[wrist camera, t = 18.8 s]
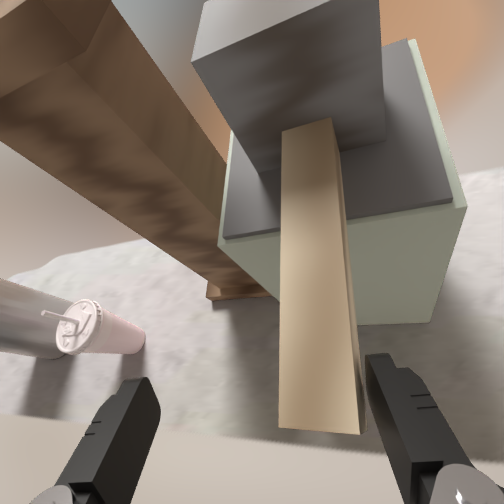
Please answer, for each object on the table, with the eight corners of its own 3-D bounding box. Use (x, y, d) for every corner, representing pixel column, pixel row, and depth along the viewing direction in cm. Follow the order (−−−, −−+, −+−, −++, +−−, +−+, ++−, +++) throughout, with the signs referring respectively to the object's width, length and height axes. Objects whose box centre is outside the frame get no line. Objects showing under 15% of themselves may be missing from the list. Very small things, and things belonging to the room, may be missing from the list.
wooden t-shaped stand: (211, 300, 41) (-124, 106, 15) (217, 247, 44) (-44, 15, 18) (298, 293, 36) (35, -7, 10) (297, 235, 40) (101, -99, 14)
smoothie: (157, 349, 41) (63, 325, 29) (120, 373, 42) (15, 359, 30) (147, 310, 44) (61, 275, 33) (114, 332, 45) (17, 306, 34)
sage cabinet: (307, 327, 34) (213, 242, 17) (305, 234, 39) (231, 98, 22) (429, 322, 29) (469, 200, 12) (408, 218, 35) (415, 31, 18)
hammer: (243, 420, 12) (107, 428, 7) (260, 119, 20) (204, 2, 14) (445, 436, 10) (509, 474, 4) (374, 82, 17) (361, -80, 12)
